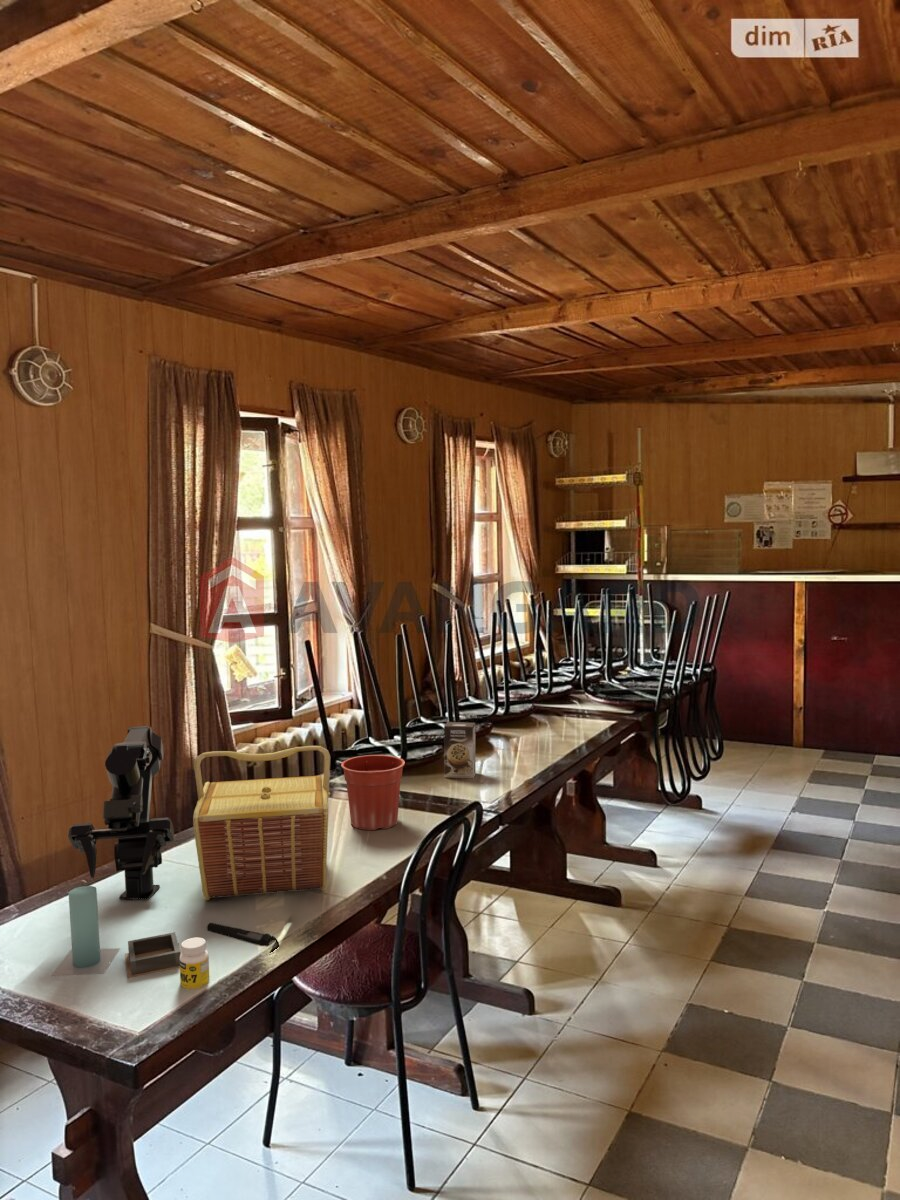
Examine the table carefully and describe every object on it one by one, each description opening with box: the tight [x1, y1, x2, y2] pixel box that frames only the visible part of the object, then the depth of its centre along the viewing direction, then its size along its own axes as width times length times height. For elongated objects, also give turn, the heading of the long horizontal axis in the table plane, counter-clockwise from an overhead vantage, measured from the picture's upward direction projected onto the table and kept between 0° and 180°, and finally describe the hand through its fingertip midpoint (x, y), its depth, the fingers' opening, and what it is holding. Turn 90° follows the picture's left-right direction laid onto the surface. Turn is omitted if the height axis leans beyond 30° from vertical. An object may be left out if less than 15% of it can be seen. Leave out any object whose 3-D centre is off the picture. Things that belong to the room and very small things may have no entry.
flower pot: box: [340, 754, 406, 831], centre depth 231 cm, size 16×16×16 cm
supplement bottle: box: [179, 936, 210, 990], centre depth 151 cm, size 5×5×8 cm
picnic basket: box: [192, 745, 331, 901], centre depth 194 cm, size 29×26×30 cm
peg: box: [68, 885, 101, 968], centre depth 158 cm, size 5×5×13 cm
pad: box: [51, 947, 121, 977], centre depth 158 cm, size 9×9×2 cm
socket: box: [124, 932, 182, 979], centre depth 158 cm, size 9×9×4 cm
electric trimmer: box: [206, 922, 281, 954], centre depth 167 cm, size 4×16×3 cm, turn 64°
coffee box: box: [443, 721, 477, 779], centre depth 273 cm, size 9×6×16 cm
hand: (117, 875), depth 167 cm, fingers open, 9 cm apart
